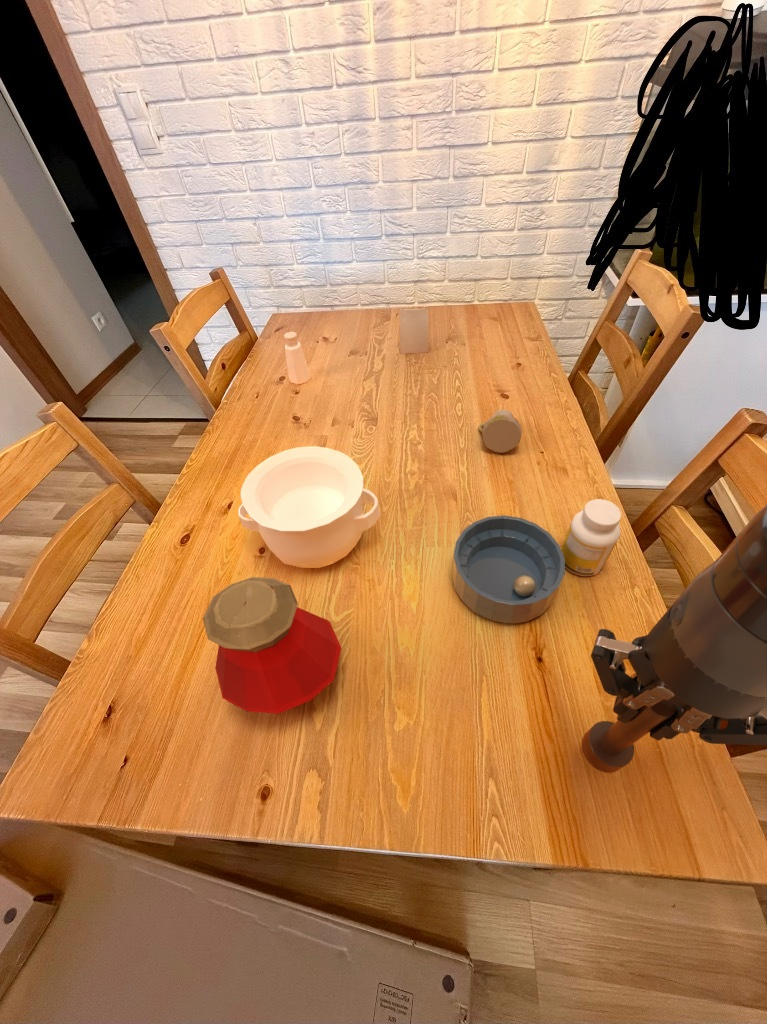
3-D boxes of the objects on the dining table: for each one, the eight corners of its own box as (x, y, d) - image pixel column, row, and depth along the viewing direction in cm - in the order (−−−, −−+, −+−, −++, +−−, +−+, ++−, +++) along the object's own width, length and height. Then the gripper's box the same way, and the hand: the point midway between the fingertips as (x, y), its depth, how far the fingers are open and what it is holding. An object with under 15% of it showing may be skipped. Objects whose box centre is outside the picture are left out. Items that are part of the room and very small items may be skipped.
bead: (514, 575, 68) (518, 595, 68) (509, 578, 66) (514, 599, 65) (534, 572, 67) (539, 593, 66) (530, 574, 64) (535, 596, 64)
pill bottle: (593, 541, 73) (617, 491, 64) (609, 576, 69) (637, 527, 60) (553, 545, 73) (571, 495, 64) (566, 580, 69) (587, 532, 60)
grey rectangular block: (428, 352, 112) (428, 312, 105) (400, 353, 113) (399, 313, 105) (427, 344, 115) (428, 305, 107) (400, 345, 115) (399, 306, 108)
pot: (380, 494, 83) (375, 441, 73) (384, 575, 71) (379, 525, 62) (259, 502, 83) (239, 451, 74) (243, 584, 72) (217, 536, 62)
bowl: (568, 563, 71) (578, 539, 66) (534, 644, 63) (543, 623, 58) (476, 526, 76) (480, 502, 72) (434, 596, 68) (435, 574, 64)
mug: (518, 422, 93) (535, 401, 84) (504, 465, 92) (520, 449, 82) (483, 410, 94) (496, 388, 84) (468, 452, 92) (480, 435, 82)
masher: (630, 745, 50) (697, 696, 38) (615, 782, 48) (681, 744, 36) (590, 720, 52) (642, 666, 40) (574, 754, 50) (624, 709, 38)
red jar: (342, 621, 66) (320, 537, 51) (351, 718, 58) (328, 650, 43) (233, 638, 66) (178, 558, 51) (225, 739, 57) (156, 678, 42)
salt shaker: (316, 377, 108) (307, 333, 100) (297, 387, 106) (286, 343, 98) (302, 369, 111) (293, 325, 103) (284, 378, 109) (272, 334, 100)
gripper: (876, 637, 28) (730, 723, 41) (635, 547, 33) (574, 649, 46) (884, 754, 24) (719, 808, 37) (608, 631, 29) (549, 716, 42)
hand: (638, 719), depth 42 cm, fingers closed on masher, 2 cm apart
